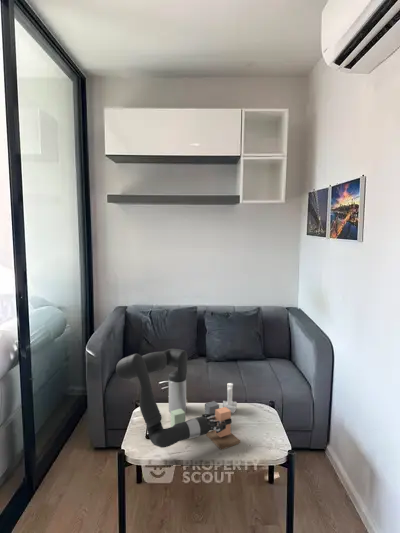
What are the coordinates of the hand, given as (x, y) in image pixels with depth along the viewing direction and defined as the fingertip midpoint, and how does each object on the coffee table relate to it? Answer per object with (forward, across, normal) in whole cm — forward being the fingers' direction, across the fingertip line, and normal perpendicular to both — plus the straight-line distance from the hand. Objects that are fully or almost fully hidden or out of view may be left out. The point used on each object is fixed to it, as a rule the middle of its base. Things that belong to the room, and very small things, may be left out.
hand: (227, 418), depth 172 cm
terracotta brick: (-3, 0, +6) cm, 7 cm away
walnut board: (-3, 0, +10) cm, 10 cm away
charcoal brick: (-1, +13, +10) cm, 16 cm away
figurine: (+15, +21, +10) cm, 28 cm away
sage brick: (-19, +14, +10) cm, 25 cm away
